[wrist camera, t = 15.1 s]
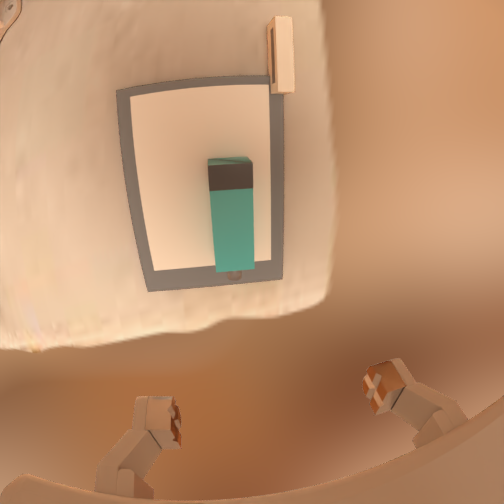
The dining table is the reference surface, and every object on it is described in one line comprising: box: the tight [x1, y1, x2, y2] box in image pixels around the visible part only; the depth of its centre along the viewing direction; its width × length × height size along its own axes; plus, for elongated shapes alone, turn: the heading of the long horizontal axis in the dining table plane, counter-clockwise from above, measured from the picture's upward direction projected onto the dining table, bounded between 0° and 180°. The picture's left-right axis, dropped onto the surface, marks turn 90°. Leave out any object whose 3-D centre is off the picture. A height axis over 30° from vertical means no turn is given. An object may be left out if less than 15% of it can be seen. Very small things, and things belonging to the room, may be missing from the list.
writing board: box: [116, 76, 284, 292], centre depth 30 cm, size 24×17×1 cm
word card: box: [267, 16, 295, 94], centre depth 23 cm, size 8×2×4 cm, turn 2°
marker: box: [208, 157, 255, 281], centre depth 30 cm, size 13×4×4 cm, turn 1°
